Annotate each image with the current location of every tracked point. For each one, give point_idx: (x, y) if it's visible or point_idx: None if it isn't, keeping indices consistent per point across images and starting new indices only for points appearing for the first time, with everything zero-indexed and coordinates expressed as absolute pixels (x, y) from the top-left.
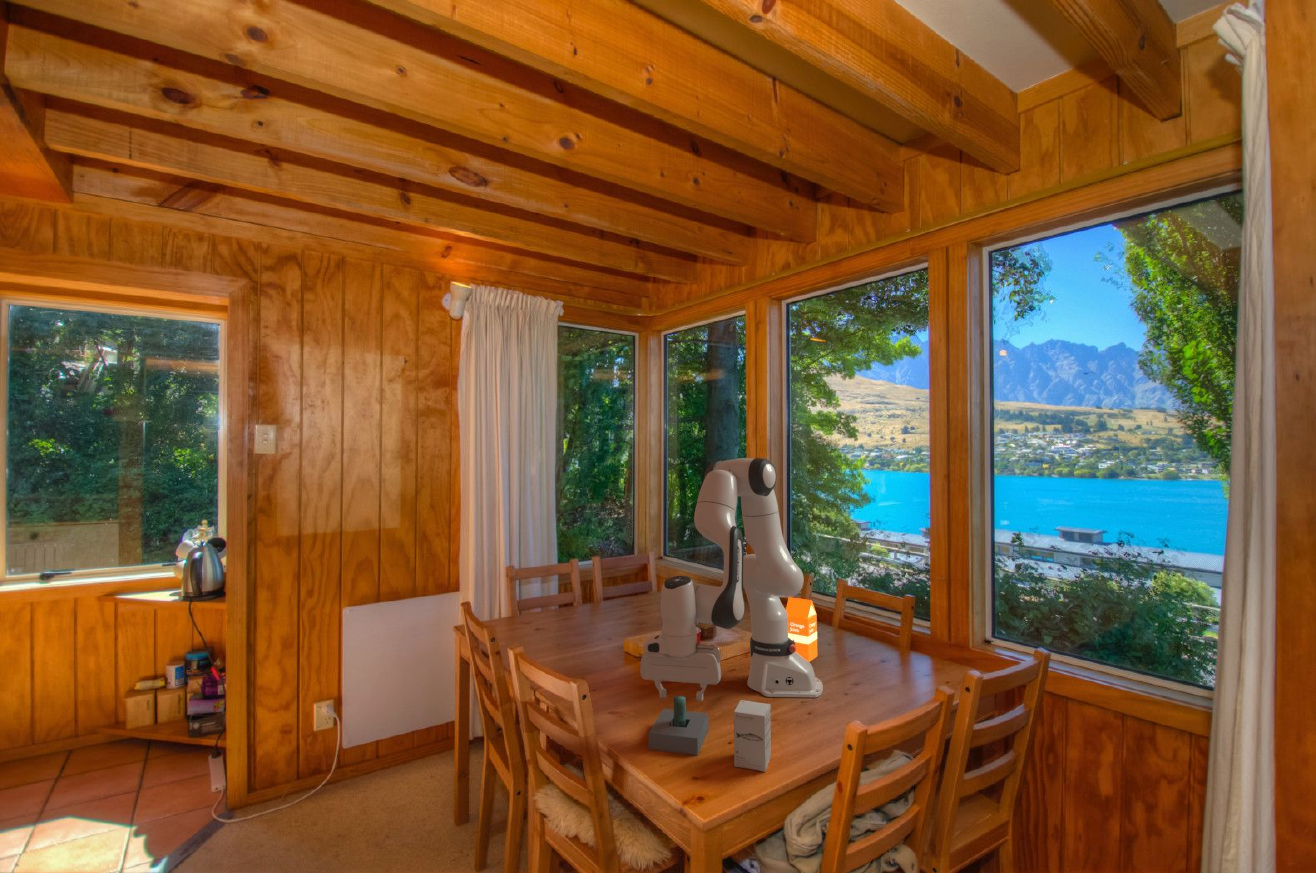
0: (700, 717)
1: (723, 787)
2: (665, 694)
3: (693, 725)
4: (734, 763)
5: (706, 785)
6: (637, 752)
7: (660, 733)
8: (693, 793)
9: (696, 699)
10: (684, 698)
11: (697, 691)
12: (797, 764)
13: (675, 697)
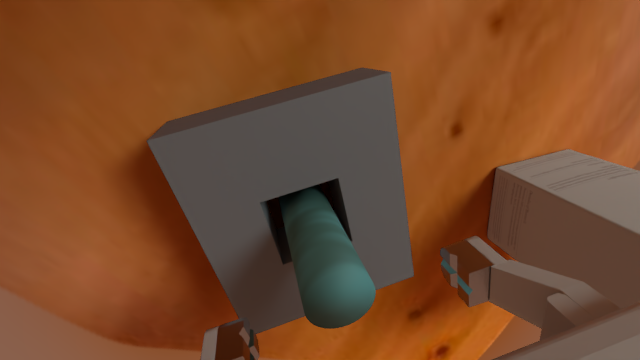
0: (371, 135)
1: (474, 306)
2: (251, 344)
3: (370, 213)
4: (493, 242)
5: (443, 319)
6: (229, 318)
7: (288, 317)
8: (426, 349)
9: (446, 279)
10: (366, 284)
11: (469, 278)
12: (624, 147)
13: (310, 302)
